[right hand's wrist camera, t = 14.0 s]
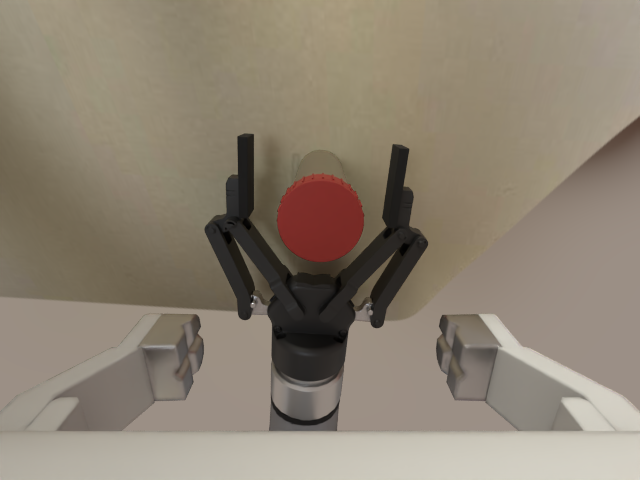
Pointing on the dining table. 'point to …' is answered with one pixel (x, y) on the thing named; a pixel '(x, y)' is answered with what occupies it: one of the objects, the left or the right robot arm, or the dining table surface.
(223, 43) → the dining table surface
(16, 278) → the dining table surface
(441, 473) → the right robot arm
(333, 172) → the jar
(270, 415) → the left robot arm
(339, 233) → the lid
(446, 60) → the dining table surface
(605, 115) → the dining table surface
